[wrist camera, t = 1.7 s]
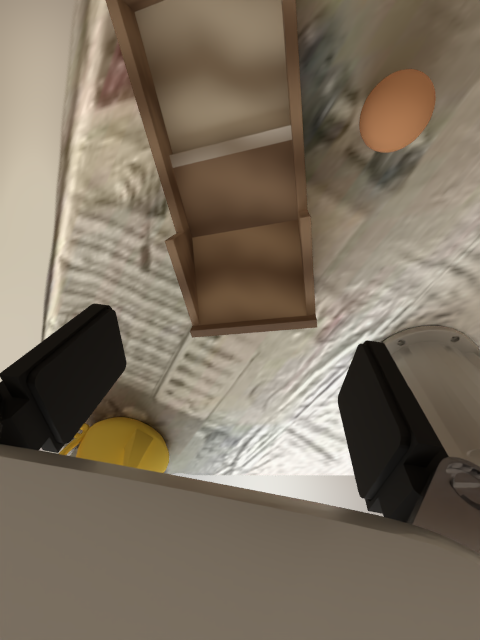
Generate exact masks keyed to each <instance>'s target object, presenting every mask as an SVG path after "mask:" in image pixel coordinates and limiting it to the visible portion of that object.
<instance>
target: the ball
mask: <svg viewBox="0 0 480 640" xmlns="http://www.w3.org/2000/svg"><path fill="white" fill-rule="evenodd" d="M434 106H435V89H434V86H433V83H432V81H431V80H430V78H429V77H428V76H427V75H426V74H424V73H423V72H421V71H418V70H414V69H405V70H400V71H397V72H395V73H393V74H391V75H389V76H387V77H386V78H384V79H383V80H382V81H381V82H379V83H378V84H377V85H376V86H375V88H374V89H373V90H372V91H371V93H370V94H369V96H368V97H367V99H366V101H365V103H364V105H363V108H362V111H361V115H360V122H359V126H360V133H361V136H362V139H363V141H364V142H365V144H366V145H367V146H368V147H370V148H371V149H373V150H375V151H378V152H393V151H397V150H399V149H402V148H404V147H405V146H407V145H408V144H410V143H411V142H413V141H414V140H415V139H416V138H417V137H418V136H419V135H420V134H421V133H422V131H423V130H424V129H425V127H426V126H427V124H428V122H429V120H430V118H431V116H432V113H433V110H434Z"/></svg>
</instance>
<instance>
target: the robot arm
mask: <svg viewBox="0 0 480 640" xmlns="http://www.w3.org/2000/svg"><path fill="white" fill-rule="evenodd" d="M125 368H126V358H125V353H124V349H123V344H122V339H121V335H120V330H119V326H118V321H117V316H116V312H115V311H114V310H112V308H111V307H110V306H109V305H101V304H92V305H90V306H89V307H88V308H86V309H85V310H84V311H82V312H81V313H80V314H78V315H77V316H76V317H74V318H73V319H72V320H70V321H69V322H68V323H66V324H65V325H64V326H62V327H61V328H60V329H58V330H57V331H56V332H54V333H53V334H52V335H50V336H49V337H48V338H46V339H45V340H44V341H42V342H41V343H40V344H38V345H37V346H36V347H34V348H33V349H32V350H31V351H29V352H28V353H26V354H25V355H24V356H23V357H21V358H20V359H19V360H17V361H16V362H14V363H13V364H12V365H10V366H9V367H8V368H7V369H5V370H4V371H3V372H1V373H0V377H1V379H2V382H0V640H480V351H479V349H478V347H477V345H476V344H475V343H474V342H473V341H472V340H471V339H470V338H469V337H467V336H466V335H465V334H463V333H462V332H460V331H457V330H455V329H452V328H448V327H444V326H420V327H415V328H411V329H407V330H404V331H401V332H399V333H396V334H395V335H393V336H391V337H389V338H387V339H386V340H384V341H383V342H382V343H381V342H374V341H365V342H364V344H359V345H358V347H357V350H356V352H355V355H354V357H353V360H352V362H351V365H350V367H349V370H348V372H347V375H346V377H345V380H344V382H343V385H342V387H341V390H340V392H339V395H338V405H339V410H340V414H341V418H342V423H343V427H344V431H345V436H346V440H347V444H348V449H349V453H350V457H351V462H352V466H353V470H354V475H355V479H356V483H357V487H358V492H359V495H360V497H361V498H364V499H365V501H366V505H367V509H368V511H372V512H377V513H382V514H383V515H384V517H382V516H378V515H373V514H369V513H364V512H359V511H355V510H350V509H345V508H341V507H336V506H330V505H326V504H321V503H317V502H311V501H306V500H301V499H296V498H291V497H286V496H280V495H275V494H270V493H265V492H260V491H255V490H249V489H244V488H239V487H233V486H228V485H223V484H218V483H213V482H207V481H202V480H197V479H191V478H186V477H180V476H175V475H170V474H165V473H159V472H154V471H149V470H143V469H138V468H133V467H127V466H122V465H116V464H111V463H105V462H100V461H94V460H89V459H83V458H78V457H72V456H67V455H61V454H56V453H58V452H59V451H60V450H61V448H62V447H63V446H64V444H67V443H69V442H70V441H71V440H72V439H73V437H74V436H75V435H76V434H77V432H78V431H79V430H80V428H81V427H82V426H83V424H84V423H85V422H86V420H87V419H88V418H89V416H90V415H91V414H92V412H93V411H94V410H95V408H96V407H97V406H98V404H99V403H100V402H101V400H102V399H103V398H104V397H105V395H106V394H107V393H108V391H109V390H110V389H111V387H112V386H113V385H114V383H115V382H116V381H117V379H118V378H119V377H120V375H121V374H122V373H123V371H124V370H125ZM40 448H42V449H43V450H45V451H51V452H56V453H50V452H45V451H39V449H40Z"/></svg>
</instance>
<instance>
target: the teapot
mask: <svg viewBox="0 0 480 640" xmlns="http://www.w3.org/2000/svg"><path fill="white" fill-rule="evenodd" d="M80 430H83V432H82V433H81V434H79V433H77V434H76V435H75V436H74V438H76V439H74V440H73V441H72V442H71V443H69V444H68V445H67V446H66V447H65V448H64V449H63V450H62V451H61V452H60V453H59V454H61V455H67V453H68V452H69V451H71V450H72V449H73V448H74V447H75V446H76V445H78V444H79V443H80V442H81V443H80V445H79V448H78V451H77V454H76V457H78V458H83V459H89V460H94V461H100V462H105V463H111V464H116V465H122V466H127V467H133V468H138V469H143V470H149V471H154V472H159V473H164V472H165V470H166V468H167V465H168V463H169V452H168V449H167V446H166V443H165V441H164V439H163V438H162V436H161V435H160V434H159V433H158V432H157V431H156V430H155V429H153V428H152V427H150V426H149V425H147V424H145V423H143V422H141V421H138V420H135V419H132V418H127V417H113V418H109V419H105V420H102V421H100V422H97V423H95V424H94V425H92V426H91V427H89V425H88V424H86V423H84V424H83V426H82V427H81V428H80Z"/></svg>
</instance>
